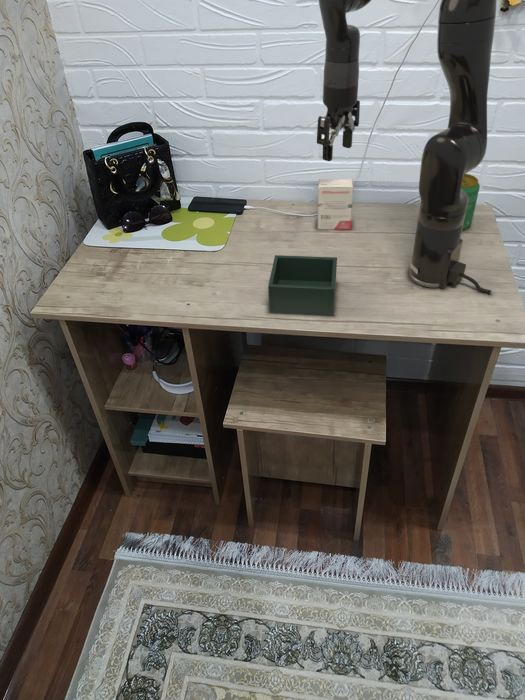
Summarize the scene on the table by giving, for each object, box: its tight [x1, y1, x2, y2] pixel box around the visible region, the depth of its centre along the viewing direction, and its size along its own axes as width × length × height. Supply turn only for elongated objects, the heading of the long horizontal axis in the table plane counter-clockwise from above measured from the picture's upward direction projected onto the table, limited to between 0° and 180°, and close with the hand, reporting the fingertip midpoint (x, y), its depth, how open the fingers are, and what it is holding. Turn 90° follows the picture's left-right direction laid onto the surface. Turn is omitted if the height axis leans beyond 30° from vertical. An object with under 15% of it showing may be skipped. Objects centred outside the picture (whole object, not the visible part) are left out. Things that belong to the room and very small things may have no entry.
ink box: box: [317, 178, 354, 230], centre depth 143 cm, size 9×5×12 cm, turn 84°
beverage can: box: [461, 173, 481, 232], centre depth 140 cm, size 8×8×12 cm
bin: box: [267, 254, 338, 317], centre depth 123 cm, size 14×12×7 cm
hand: (337, 153), depth 134 cm, fingers open, 8 cm apart
